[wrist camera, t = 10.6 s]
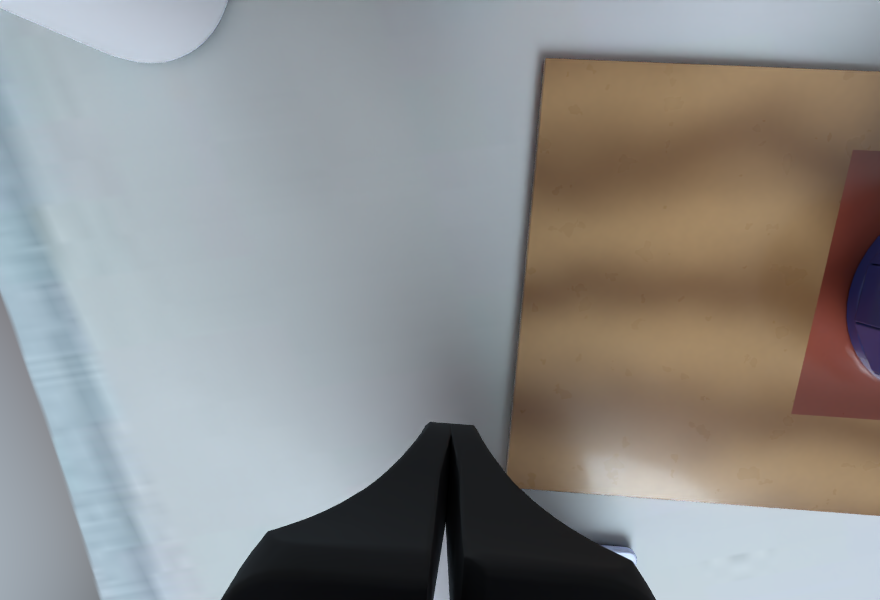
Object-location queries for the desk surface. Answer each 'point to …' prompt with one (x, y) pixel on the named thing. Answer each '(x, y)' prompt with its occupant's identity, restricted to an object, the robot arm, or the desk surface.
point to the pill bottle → (127, 24)
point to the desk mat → (699, 286)
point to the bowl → (866, 309)
